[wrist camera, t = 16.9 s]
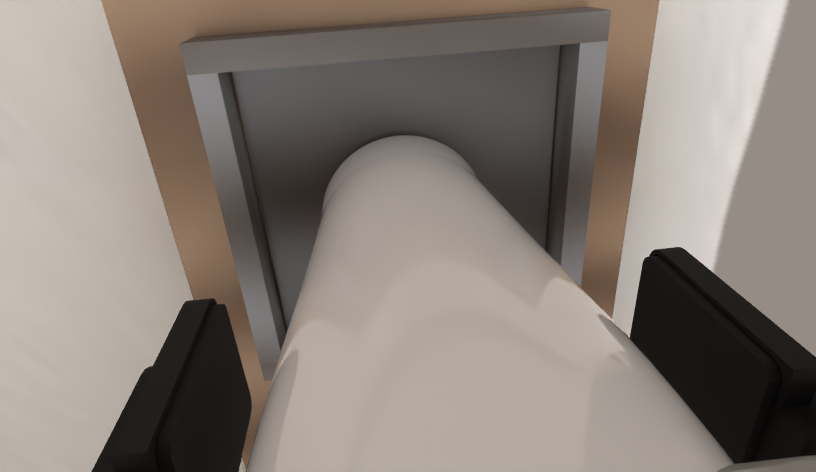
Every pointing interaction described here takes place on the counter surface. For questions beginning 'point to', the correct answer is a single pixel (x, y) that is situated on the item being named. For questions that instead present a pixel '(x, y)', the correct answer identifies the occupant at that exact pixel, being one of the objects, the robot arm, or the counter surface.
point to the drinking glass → (456, 342)
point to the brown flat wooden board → (378, 128)
